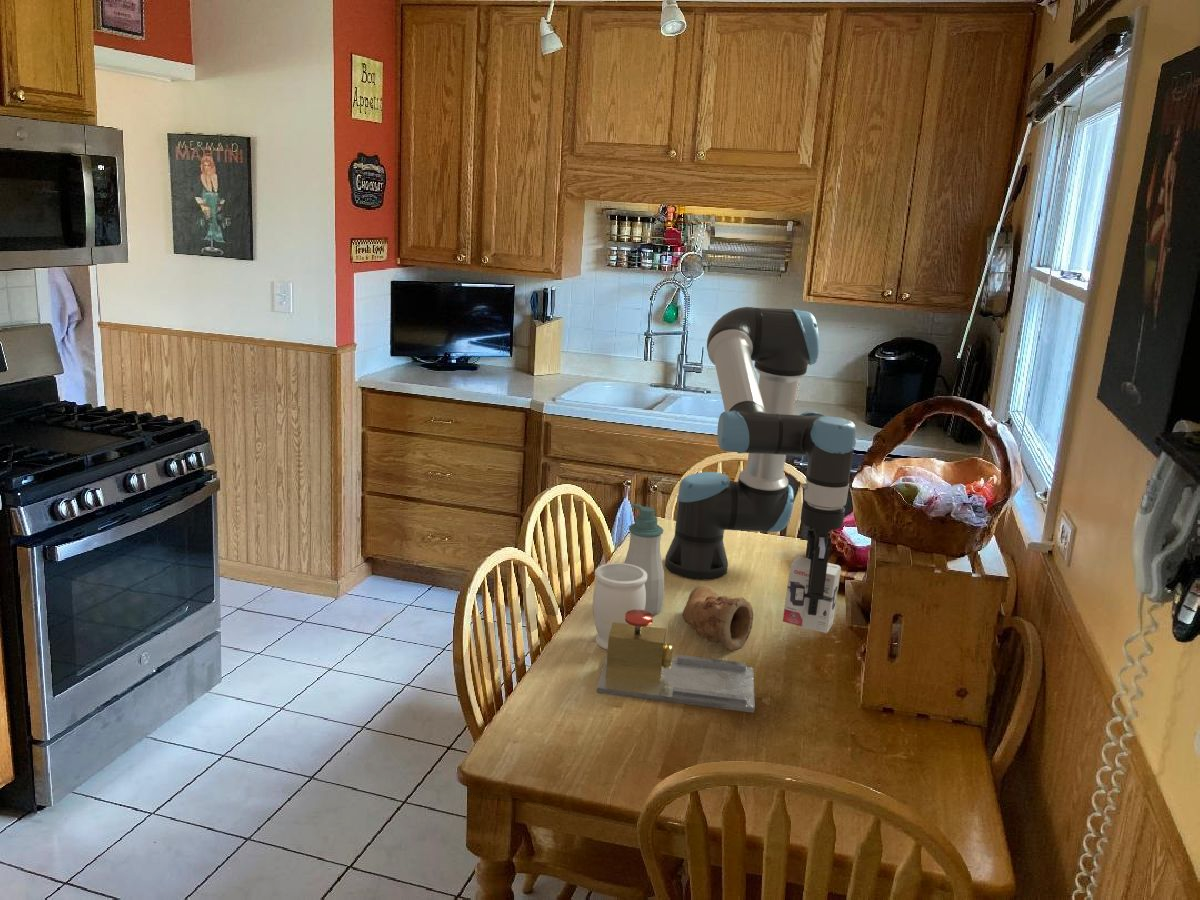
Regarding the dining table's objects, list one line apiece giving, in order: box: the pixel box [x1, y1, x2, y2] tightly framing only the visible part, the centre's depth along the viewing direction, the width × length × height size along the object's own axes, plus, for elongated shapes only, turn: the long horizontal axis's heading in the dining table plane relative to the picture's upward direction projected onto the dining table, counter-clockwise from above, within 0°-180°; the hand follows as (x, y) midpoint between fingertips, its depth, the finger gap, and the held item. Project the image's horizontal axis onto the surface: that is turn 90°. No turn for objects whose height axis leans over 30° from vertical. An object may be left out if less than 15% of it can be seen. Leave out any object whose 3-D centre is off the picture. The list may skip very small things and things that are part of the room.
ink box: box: [782, 556, 842, 634], centre depth 174 cm, size 8×5×12 cm, turn 64°
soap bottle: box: [623, 503, 665, 617], centre depth 201 cm, size 10×10×23 cm
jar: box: [592, 562, 648, 651], centre depth 186 cm, size 11×10×15 cm
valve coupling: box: [596, 610, 756, 714], centre depth 173 cm, size 15×28×12 cm, turn 82°
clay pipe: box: [682, 585, 754, 651], centre depth 194 cm, size 19×11×15 cm
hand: (807, 619), depth 176 cm, fingers closed on ink box, 6 cm apart
